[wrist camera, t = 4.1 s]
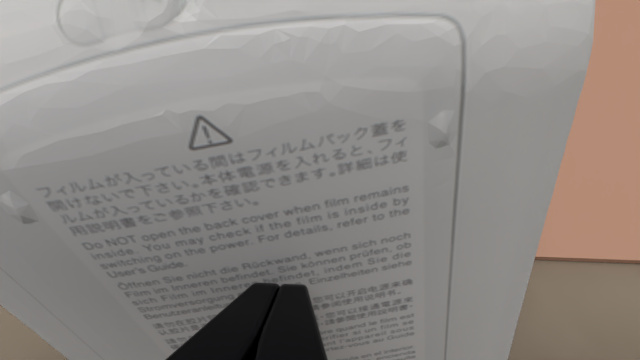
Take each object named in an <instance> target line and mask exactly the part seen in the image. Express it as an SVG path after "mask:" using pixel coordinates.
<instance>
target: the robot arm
mask: <svg viewBox="0 0 640 360" xmlns="http://www.w3.org/2000/svg"><path fill="white" fill-rule="evenodd" d="M165 360H328V359H327V355H326V351H325V348H324V344H323V341H322V337H321V334H320V330H319V327H318V323H317V320H316V316H315V313H314V309H313V306H312V302H311V299H310V295H309V291H308V288H307V287H306V286H305V285H303V284H283V285H281V286H279V285H278V284H277V283H259V282H258V283H254V284H252V285H251V286H250V287H248V288H247V289H246V290H245V291H244V292H243V293H241V294H240V295H239V296H238V297H237V298H236V299H235V300H233V301H232V302H231V303H230V304H229V305H228V306H226V307H225V308H224V309H223V310H222V311H221V312H220V313H218V314H217V315H216V316H215V317H214V318H213V319H211V320H210V321H209V322H208V323H207V324H206V325H205V326H203V327H202V328H201V329H200V330H199V331H198V332H196V333H195V334H194V335H193V336H192V337H191V338H190V339H188V340H187V341H186V342H185V343H184V344H183V345H181V346H180V347H179V348H178V349H177V350H176V351H175V352H173V353H172V354H171V355H170V356H169V357H168V358H166V359H165Z"/></svg>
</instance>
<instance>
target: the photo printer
mask: <svg viewBox="0 0 640 360" xmlns="http://www.w3.org/2000/svg"><path fill="white" fill-rule="evenodd" d="M595 1H596V0H0V305H2V306H3V307H4V308H5V309H6V310H8V311H9V312H10V313H12V314H13V315H14V316H15V317H17V318H18V319H19V320H20V321H22V322H23V323H24V324H25V325H26V326H28V327H29V328H31V329H32V330H33V331H34V332H36V333H37V334H38V335H39V336H40V337H41V338H43V339H44V340H45V341H46V342H48V343H49V344H50V345H51V346H52V347H54V348H55V349H56V350H58V351H59V352H60V353H61V354H62V355H64V356H65V357H66V358H67V359H68V360H165V359H166V358H168V357H169V356H170V355H171V354H172V353H173V352H175V351H176V350H177V349H178V348H179V347H180V346H181V345H183V344H184V343H185V342H186V341H187V340H188V339H190V338H191V337H192V336H193V335H194V334H195V333H196V332H198V331H199V330H200V329H201V328H202V327H203V326H205V325H206V324H207V323H208V322H209V321H210V320H211V319H213V318H214V317H215V316H216V315H217V314H218V313H220V312H221V311H222V310H223V309H224V308H225V307H226V306H228V305H229V304H230V303H231V302H232V301H233V300H235V299H236V298H237V297H238V296H239V295H240V294H241V293H243V292H244V291H245V290H246V289H247V288H248V287H250V286H251V285H252V284H254V283H258V282H259V283H277V284H278V285H279V286H281V285H283V284H303V285H305V286H306V287H307V288H308V291H309V295H310V299H311V302H312V306H313V309H314V313H315V316H316V320H317V323H318V327H319V330H320V334H321V337H322V341H323V344H324V348H325V351H326V355H327V359H328V360H507V359H508V356H509V352H510V348H511V345H512V341H513V337H514V333H515V329H516V325H517V322H518V318H519V314H520V310H521V307H522V304H523V300H524V296H525V292H526V289H527V286H528V281H529V277H530V274H531V270H532V267H533V263H534V259H535V256H536V252H537V248H538V245H539V241H540V238H541V234H542V230H543V227H544V223H545V219H546V215H547V212H548V208H549V205H550V202H551V199H552V195H553V191H554V187H555V184H556V180H557V176H558V173H559V169H560V165H561V162H562V158H563V155H564V152H565V147H566V143H567V139H568V136H569V133H570V130H571V127H572V123H573V119H574V115H575V111H576V108H577V104H578V100H579V97H580V94H581V91H582V88H583V85H584V81H585V76H586V72H587V68H588V64H589V60H590V55H591V50H592V45H593V34H594V17H595Z"/></svg>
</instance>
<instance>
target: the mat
mask: <svg viewBox="0 0 640 360" xmlns="http://www.w3.org/2000/svg"><path fill="white" fill-rule="evenodd" d="M534 260H560V261H587V262H613V263H640V0H596V1H595V17H594V34H593V45H592V50H591V55H590V60H589V64H588V68H587V72H586V76H585V81H584V85H583V88H582V91H581V94H580V97H579V100H578V104H577V108H576V111H575V115H574V119H573V123H572V127H571V130H570V133H569V136H568V139H567V143H566V147H565V152H564V155H563V158H562V162H561V165H560V169H559V173H558V176H557V180H556V184H555V187H554V191H553V195H552V199H551V202H550V205H549V208H548V212H547V215H546V219H545V223H544V227H543V230H542V234H541V238H540V241H539V245H538V248H537V252H536V256H535V259H534Z"/></svg>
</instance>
